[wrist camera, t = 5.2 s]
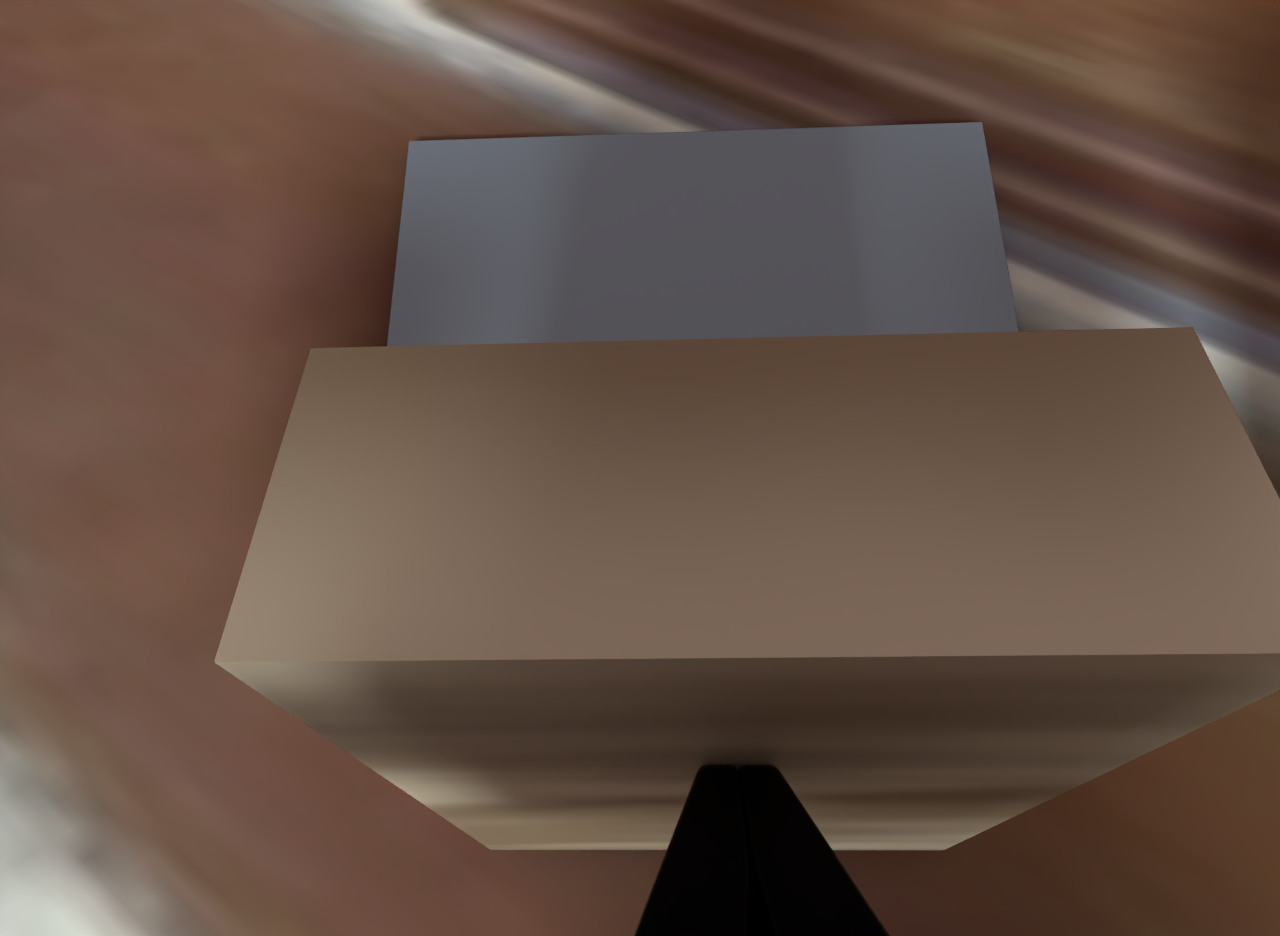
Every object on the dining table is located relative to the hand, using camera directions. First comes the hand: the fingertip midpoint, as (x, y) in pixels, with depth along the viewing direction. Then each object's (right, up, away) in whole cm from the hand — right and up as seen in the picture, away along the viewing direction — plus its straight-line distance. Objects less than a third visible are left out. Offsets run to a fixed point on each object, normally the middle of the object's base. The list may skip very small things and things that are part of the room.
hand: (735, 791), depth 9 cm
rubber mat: (0, +6, +9) cm, 11 cm away
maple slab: (0, -2, +6) cm, 7 cm away
